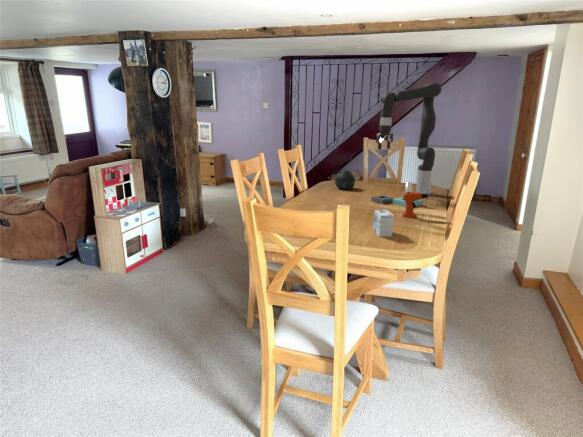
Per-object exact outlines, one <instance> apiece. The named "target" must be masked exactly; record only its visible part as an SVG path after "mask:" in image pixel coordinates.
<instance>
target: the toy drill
mask: <svg viewBox="0 0 583 437" xmlns="http://www.w3.org/2000/svg"><path fill="white" fill-rule="evenodd" d="M437 196H438V194H429V195H427V194H421V193H418V192H416V191H415V192H413V191H412V193H411V192H407V193H405V192H404V194H403V195H402V197H403V200H404V201H405V202H406V207H405V211H404V212H402V218H405V217H406V218H408V219H416V218H417V217H418V215H417V214H415V213H414V210H415V208H417V207H418V206H416V205H415V203H414V201H417V200H423V199H428V197H430V198H431V197H437ZM406 218H405V219H406Z"/></svg>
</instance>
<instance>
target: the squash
mask: <svg viewBox="0 0 583 437" xmlns="http://www.w3.org/2000/svg"><path fill="white" fill-rule="evenodd" d="M355 179H356V178H355V176H354V175H353V173H351V171H349V170H343V171H341V172H339V173H338V174H337V175H336V176H335V178H334V183H335V186H336V187H337V188H338V189H342V190H344V191H345V190H347V191H349V190H351V189H353V188H354V187H355V185H356V184H355V183H356V180H355Z"/></svg>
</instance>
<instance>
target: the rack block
mask: <svg viewBox="0 0 583 437" xmlns="http://www.w3.org/2000/svg"><path fill="white" fill-rule="evenodd" d="M423 202H424V200H423V199H420V200H417V201H414V203H415V205H416V206H417V207H419V206H420V207H421V206H423ZM392 204H393V205H396V204H397V206H400V205H401V207H404V206H405V208H406V202H405V201H404V200H403V196H402V197H398V198H394V199H393V202H392Z"/></svg>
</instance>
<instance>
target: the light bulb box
mask: <svg viewBox="0 0 583 437" xmlns="http://www.w3.org/2000/svg"><path fill="white" fill-rule="evenodd" d="M394 218H395V215H394V214H393V213H392V212H390V211H389V210H388V209H375V210H374V217H373V232H374V233H375V234H376V235H377V237H383V238H384V237H387V238H388V237H391V238H392V237H393V228H394Z"/></svg>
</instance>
